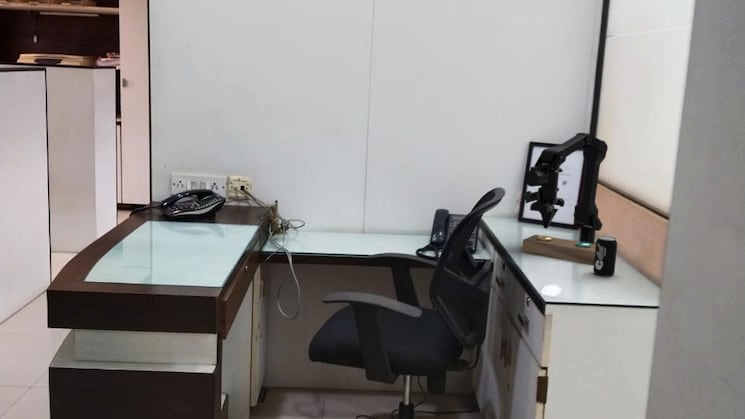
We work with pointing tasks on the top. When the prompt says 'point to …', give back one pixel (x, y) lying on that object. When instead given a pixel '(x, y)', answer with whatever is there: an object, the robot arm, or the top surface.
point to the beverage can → (605, 256)
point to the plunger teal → (583, 244)
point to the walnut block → (559, 249)
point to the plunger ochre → (545, 238)
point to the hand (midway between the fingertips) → (545, 228)
